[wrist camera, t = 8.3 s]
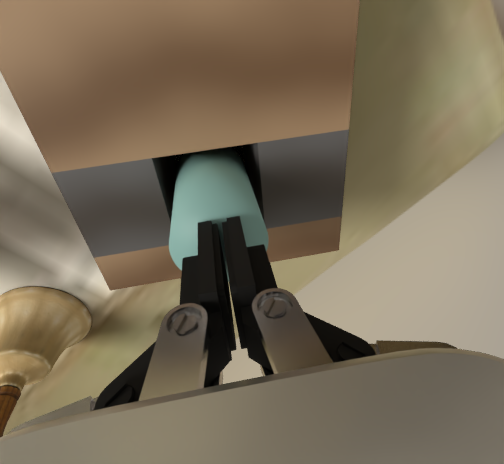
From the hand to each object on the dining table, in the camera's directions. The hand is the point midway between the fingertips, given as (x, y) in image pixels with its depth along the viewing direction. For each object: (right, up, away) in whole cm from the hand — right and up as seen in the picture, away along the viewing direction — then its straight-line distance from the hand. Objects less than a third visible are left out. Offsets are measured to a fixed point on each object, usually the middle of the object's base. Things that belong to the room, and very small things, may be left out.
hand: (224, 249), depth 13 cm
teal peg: (-1, +4, +6) cm, 7 cm away
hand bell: (-18, -7, +17) cm, 26 cm away
